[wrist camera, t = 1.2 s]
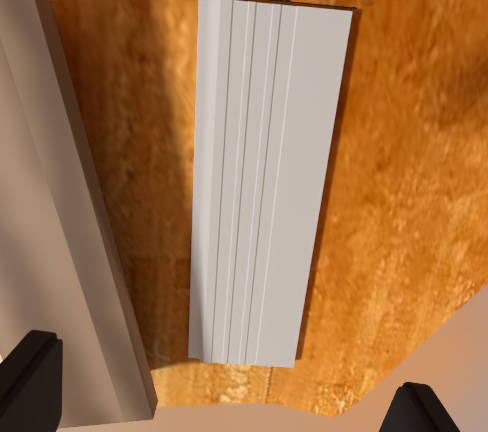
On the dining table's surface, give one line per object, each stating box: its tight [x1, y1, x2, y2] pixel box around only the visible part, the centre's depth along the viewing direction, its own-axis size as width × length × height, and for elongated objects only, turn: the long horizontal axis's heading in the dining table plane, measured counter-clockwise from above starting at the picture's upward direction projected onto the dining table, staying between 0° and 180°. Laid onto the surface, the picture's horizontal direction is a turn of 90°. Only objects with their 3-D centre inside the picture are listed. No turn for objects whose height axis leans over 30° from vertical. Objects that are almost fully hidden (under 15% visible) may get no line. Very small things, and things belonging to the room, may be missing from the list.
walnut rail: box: [0, 0, 158, 428], centre depth 27 cm, size 10×32×6 cm, turn 7°
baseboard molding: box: [188, 0, 357, 368], centre depth 28 cm, size 31×3×12 cm
